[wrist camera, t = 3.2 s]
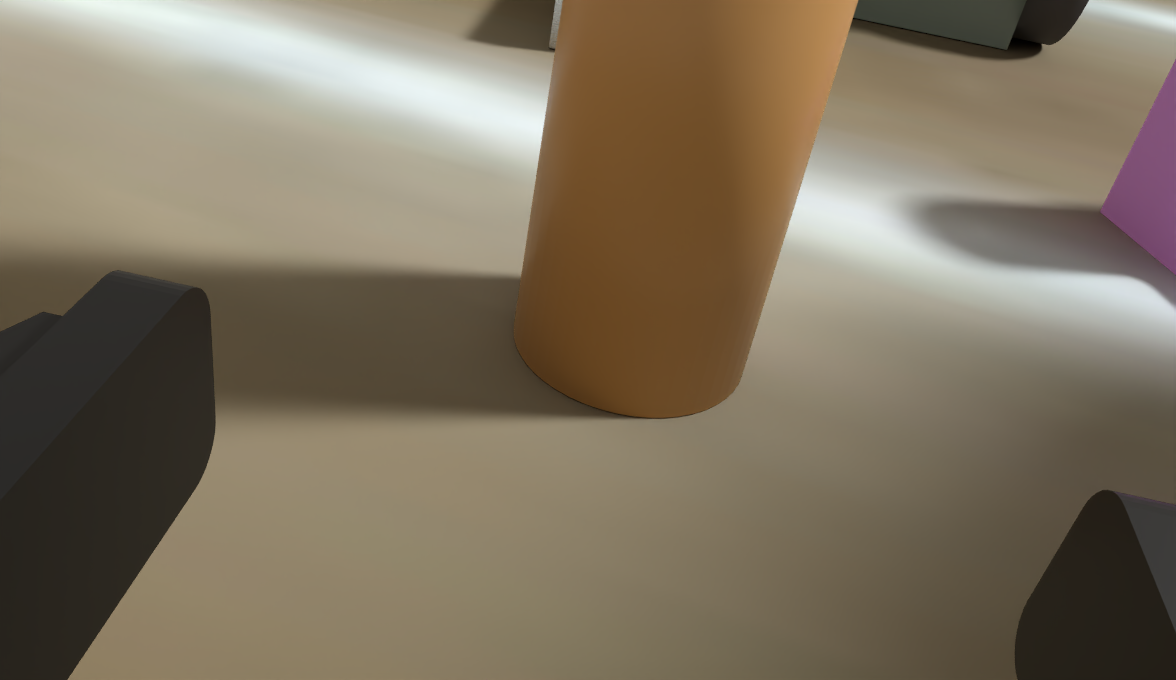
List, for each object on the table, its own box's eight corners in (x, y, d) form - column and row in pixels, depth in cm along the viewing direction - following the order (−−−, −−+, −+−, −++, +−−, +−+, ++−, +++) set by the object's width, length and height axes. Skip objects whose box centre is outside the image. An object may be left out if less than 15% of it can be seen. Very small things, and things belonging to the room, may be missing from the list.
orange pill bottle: (753, 303, 24) (919, -240, 18) (750, 449, 20) (967, -201, 13) (529, 255, 24) (614, -302, 18) (477, 389, 20) (566, -282, 14)
